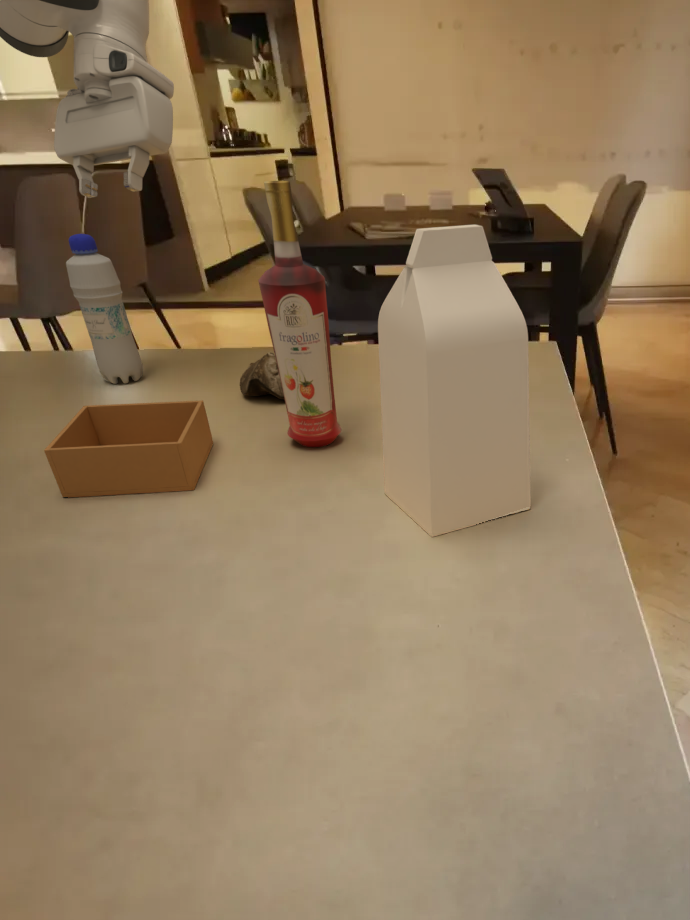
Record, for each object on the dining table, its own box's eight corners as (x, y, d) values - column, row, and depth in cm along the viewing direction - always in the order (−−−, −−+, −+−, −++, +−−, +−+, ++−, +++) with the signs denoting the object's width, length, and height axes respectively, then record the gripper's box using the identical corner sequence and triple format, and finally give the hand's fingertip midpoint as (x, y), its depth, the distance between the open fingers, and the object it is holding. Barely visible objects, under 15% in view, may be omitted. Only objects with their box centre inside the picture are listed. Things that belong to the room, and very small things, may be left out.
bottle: (91, 384, 108) (42, 236, 96) (121, 371, 113) (77, 229, 101) (128, 388, 107) (82, 238, 95) (156, 375, 112) (116, 231, 100)
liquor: (286, 453, 87) (238, 185, 70) (287, 432, 93) (243, 179, 75) (345, 449, 88) (312, 184, 71) (343, 428, 94) (312, 178, 77)
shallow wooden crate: (62, 498, 77) (43, 450, 74) (99, 449, 88) (83, 405, 85) (194, 490, 79) (181, 443, 75) (213, 443, 90) (203, 400, 86)
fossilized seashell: (319, 375, 104) (274, 376, 109) (291, 340, 98) (245, 342, 104) (295, 415, 102) (250, 413, 107) (266, 381, 96) (220, 381, 102)
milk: (431, 537, 70) (417, 241, 54) (384, 493, 78) (360, 224, 62) (530, 509, 75) (544, 231, 59) (477, 471, 83) (476, 216, 67)
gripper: (40, 78, 96) (41, 189, 98) (140, 51, 87) (138, 174, 89) (85, 104, 101) (84, 209, 104) (183, 82, 92) (179, 196, 95)
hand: (110, 192), depth 97 cm, fingers open, 8 cm apart
